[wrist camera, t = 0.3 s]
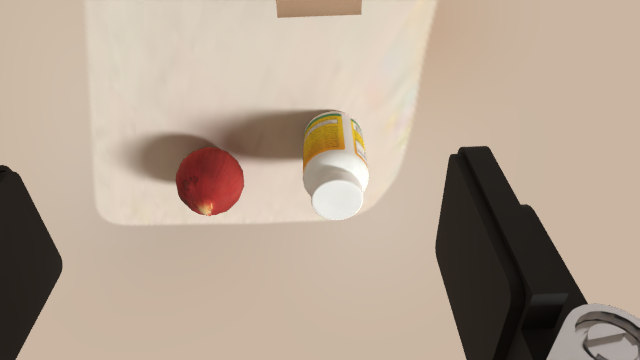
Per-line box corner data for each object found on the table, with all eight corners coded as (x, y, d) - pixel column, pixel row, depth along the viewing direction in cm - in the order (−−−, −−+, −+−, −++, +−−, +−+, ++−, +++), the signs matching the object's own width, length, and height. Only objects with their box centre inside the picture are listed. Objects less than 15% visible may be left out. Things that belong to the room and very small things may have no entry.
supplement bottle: (372, 121, 44) (386, 187, 36) (345, 165, 47) (353, 235, 39) (318, 100, 42) (321, 163, 35) (294, 146, 45) (291, 214, 38)
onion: (189, 181, 47) (172, 238, 41) (180, 131, 44) (159, 185, 38) (249, 181, 48) (241, 238, 41) (244, 130, 44) (234, 184, 38)
